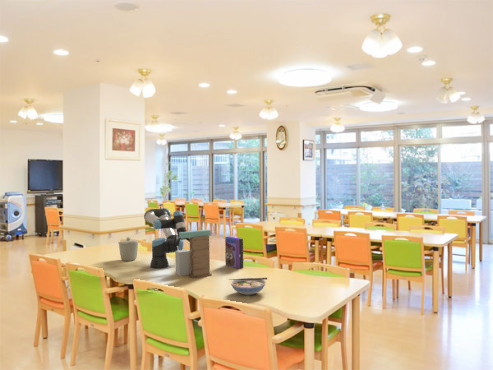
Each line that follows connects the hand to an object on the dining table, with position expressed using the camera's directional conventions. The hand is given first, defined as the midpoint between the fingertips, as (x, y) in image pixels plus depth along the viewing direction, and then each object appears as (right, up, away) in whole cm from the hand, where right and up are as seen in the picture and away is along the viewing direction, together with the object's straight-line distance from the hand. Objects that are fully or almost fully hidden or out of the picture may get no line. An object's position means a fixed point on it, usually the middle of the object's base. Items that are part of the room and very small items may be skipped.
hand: (186, 253), depth 322 cm
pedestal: (+12, -14, -16) cm, 25 cm away
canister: (-59, -14, +46) cm, 76 cm away
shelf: (+4, -14, -8) cm, 17 cm away
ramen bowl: (+49, -15, -65) cm, 83 cm away
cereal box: (+37, -14, +13) cm, 42 cm away
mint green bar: (+9, +16, -18) cm, 26 cm away
